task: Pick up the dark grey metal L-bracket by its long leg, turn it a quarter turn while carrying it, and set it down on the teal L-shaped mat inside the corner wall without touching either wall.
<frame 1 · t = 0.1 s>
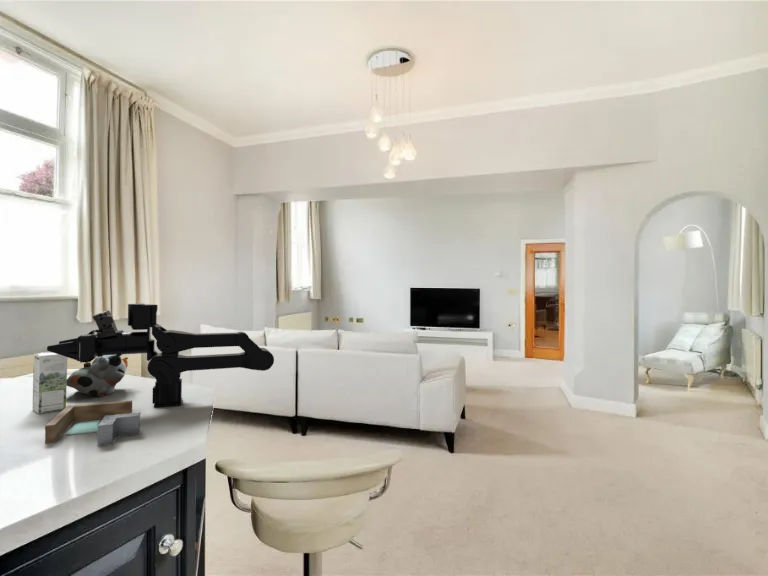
hand: (53, 345, 103), 17 cm above the worktop, tool horizontal, fingers open, 9 cm apart
bracket: (108, 439, 86), on the worktop
lucky cat figurine: (96, 393, 124), on the worktop
corner wall: (99, 418, 100), on the worktop
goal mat: (94, 429, 92), on the worktop
syrup box: (49, 410, 106), on the worktop
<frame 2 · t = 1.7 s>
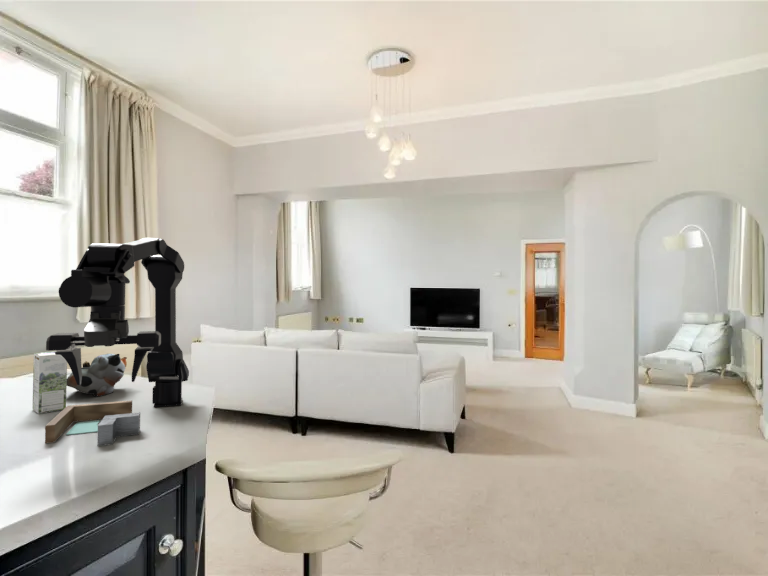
hand: (106, 383, 85), 12 cm above the worktop, tool pointing down, fingers open, 9 cm apart
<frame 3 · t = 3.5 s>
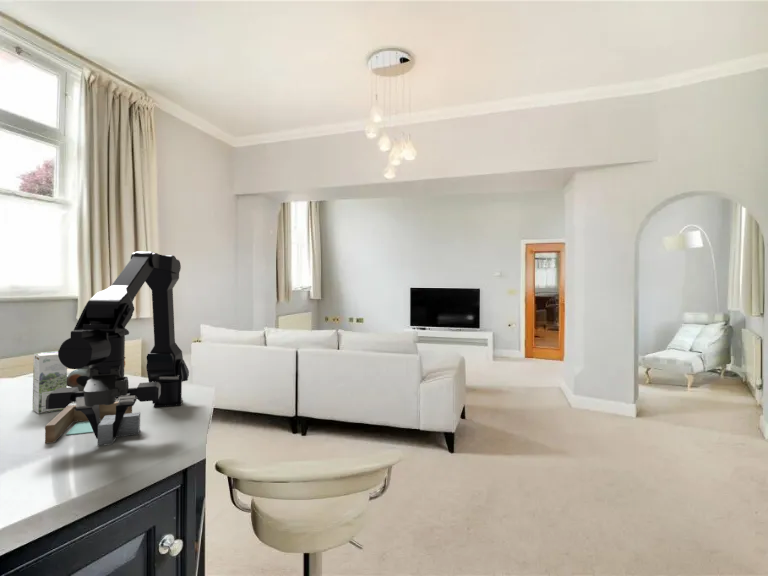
hand: (106, 437, 85), 1 cm above the worktop, tool pointing down, fingers closed on bracket, 2 cm apart
bracket: (108, 439, 86), on the worktop, touching gripper
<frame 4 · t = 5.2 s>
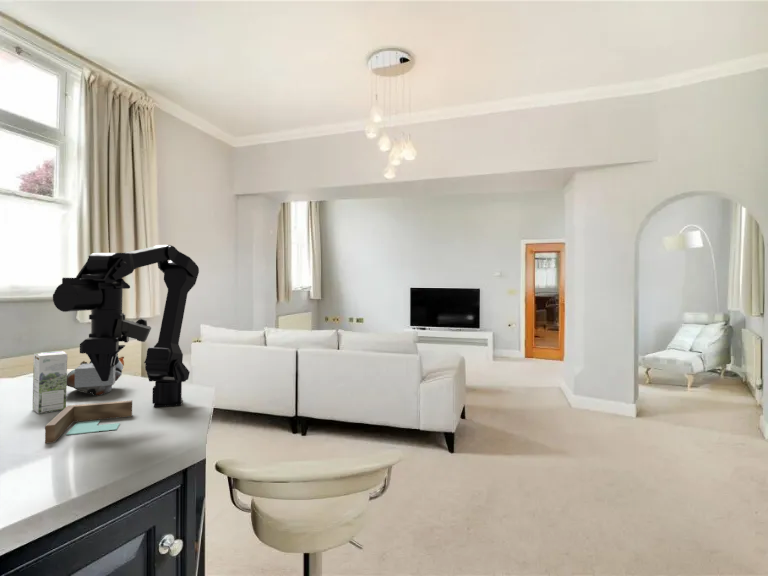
hand: (106, 379, 93), 11 cm above the worktop, tool pointing down, fingers closed on bracket, 2 cm apart
bracket: (95, 385, 92), point 10 cm above the worktop, touching gripper
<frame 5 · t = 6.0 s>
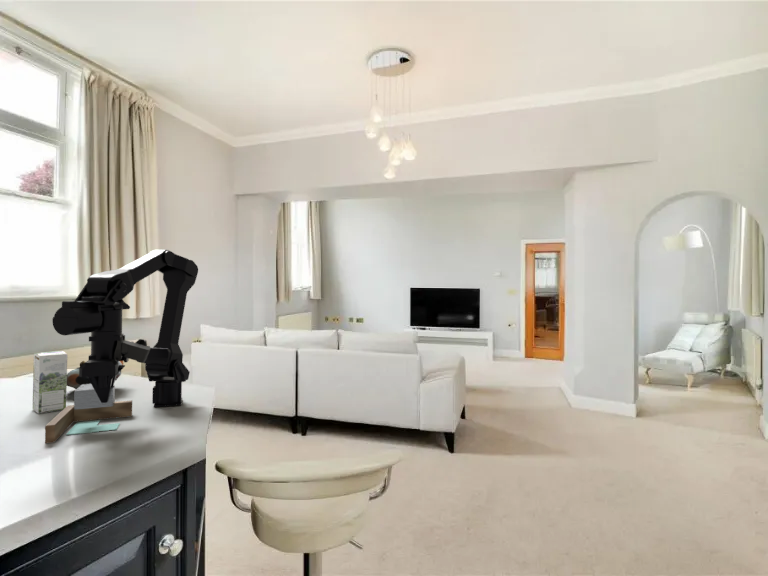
hand: (105, 401, 93), 6 cm above the worktop, tool pointing down, fingers closed on bracket, 2 cm apart
bracket: (95, 406, 92), point 5 cm above the worktop, touching gripper
when the fingers open (3 cm above the worktop, at t = 6.8 s): bracket drops 1 cm, resting on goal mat.
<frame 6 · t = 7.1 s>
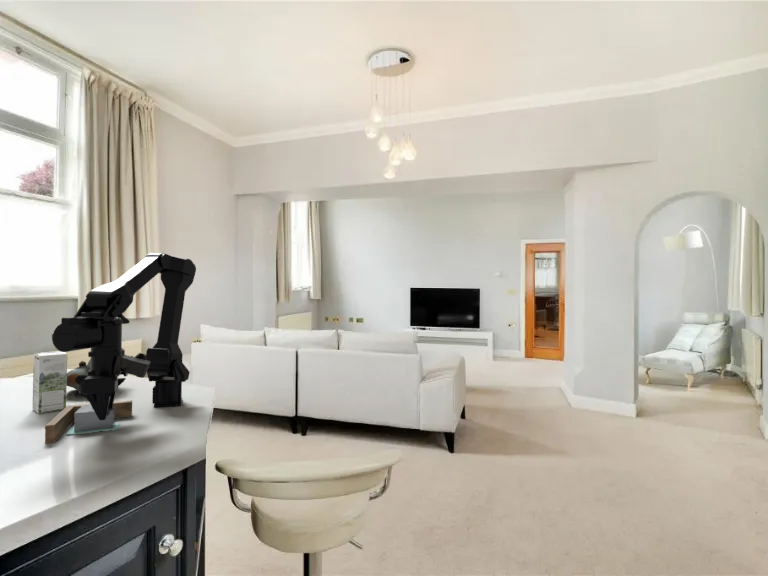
hand: (105, 416, 93), 3 cm above the worktop, tool pointing down, fingers open, 6 cm apart
bracket: (95, 428, 92), resting on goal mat
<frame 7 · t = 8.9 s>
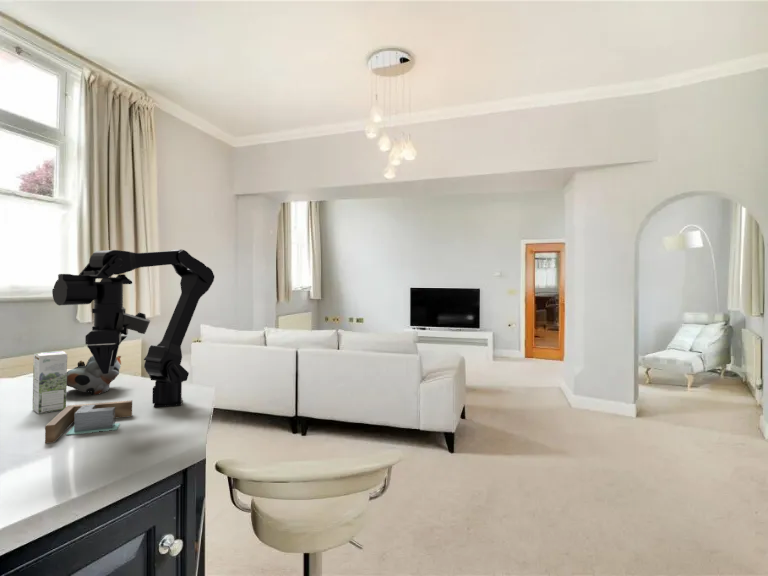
hand: (108, 369, 99), 12 cm above the worktop, tool pointing down, fingers open, 9 cm apart
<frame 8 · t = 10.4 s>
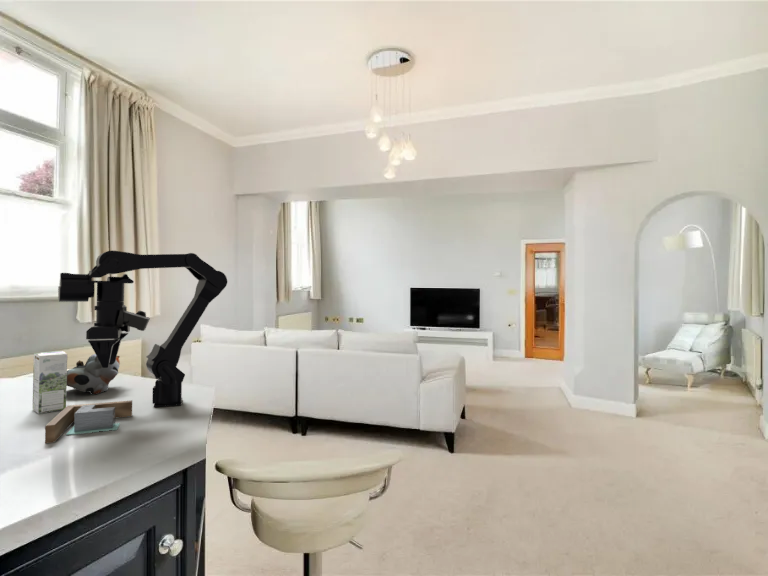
hand: (109, 364, 104), 12 cm above the worktop, tool pointing down, fingers open, 9 cm apart
at the end: bracket 0.1 cm from the target spot, resting on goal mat; bracket touching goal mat; bracket tilted 0° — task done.
